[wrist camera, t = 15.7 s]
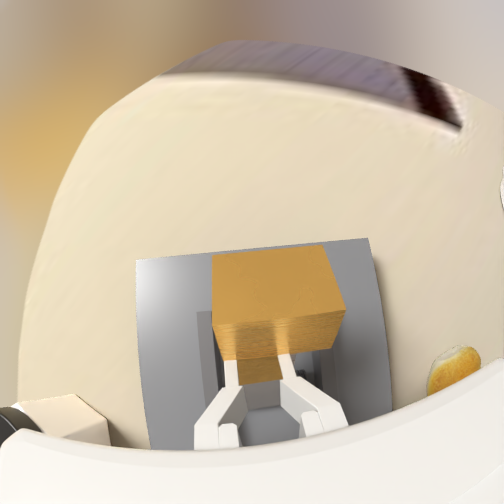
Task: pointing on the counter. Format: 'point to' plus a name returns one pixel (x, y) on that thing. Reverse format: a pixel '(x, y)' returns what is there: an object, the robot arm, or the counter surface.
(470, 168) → the counter surface
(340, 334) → the switch panel
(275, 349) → the breaker lever
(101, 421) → the jar
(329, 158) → the counter surface
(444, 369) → the bread roll
